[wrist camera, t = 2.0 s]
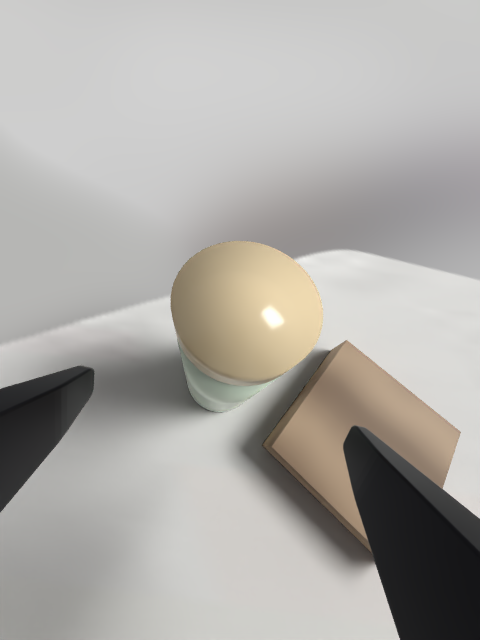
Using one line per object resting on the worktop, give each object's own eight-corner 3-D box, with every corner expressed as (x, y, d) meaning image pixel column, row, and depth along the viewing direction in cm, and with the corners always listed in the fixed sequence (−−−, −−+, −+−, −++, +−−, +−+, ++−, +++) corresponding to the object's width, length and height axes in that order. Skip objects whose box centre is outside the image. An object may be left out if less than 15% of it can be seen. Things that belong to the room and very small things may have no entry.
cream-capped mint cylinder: (222, 428, 17) (260, 416, 6) (172, 378, 18) (135, 296, 7) (266, 375, 19) (348, 302, 9) (219, 333, 20) (242, 220, 10)
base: (380, 561, 15) (411, 583, 13) (262, 445, 17) (271, 446, 15) (430, 432, 19) (460, 432, 17) (331, 350, 21) (346, 340, 19)
